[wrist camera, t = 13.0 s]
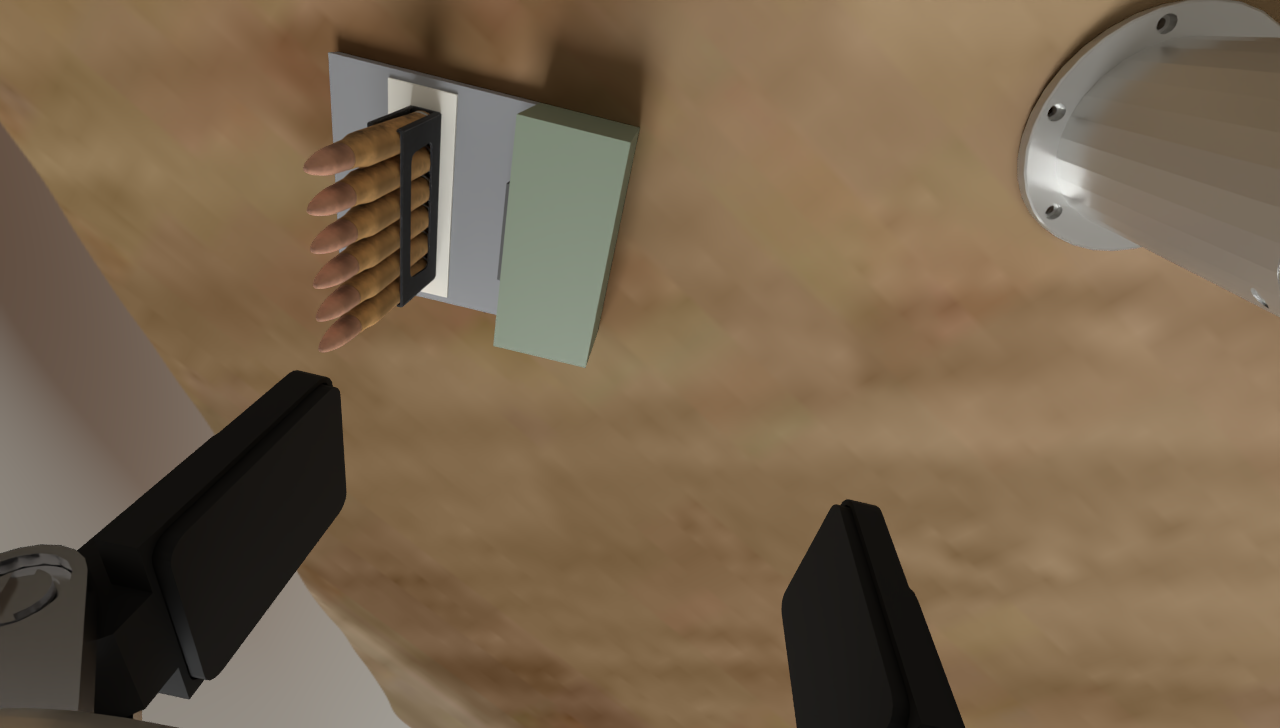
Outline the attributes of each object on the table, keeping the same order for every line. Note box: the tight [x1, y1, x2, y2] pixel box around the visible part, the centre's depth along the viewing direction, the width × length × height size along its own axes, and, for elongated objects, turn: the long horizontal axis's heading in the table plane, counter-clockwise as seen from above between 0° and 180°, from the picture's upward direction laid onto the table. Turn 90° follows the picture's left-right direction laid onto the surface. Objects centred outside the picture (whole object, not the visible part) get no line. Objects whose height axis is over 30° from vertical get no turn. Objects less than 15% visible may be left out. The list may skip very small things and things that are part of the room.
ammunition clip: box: [303, 105, 442, 352], centre depth 31 cm, size 11×2×12 cm, turn 168°
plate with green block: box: [328, 52, 640, 368], centre depth 35 cm, size 18×14×5 cm
